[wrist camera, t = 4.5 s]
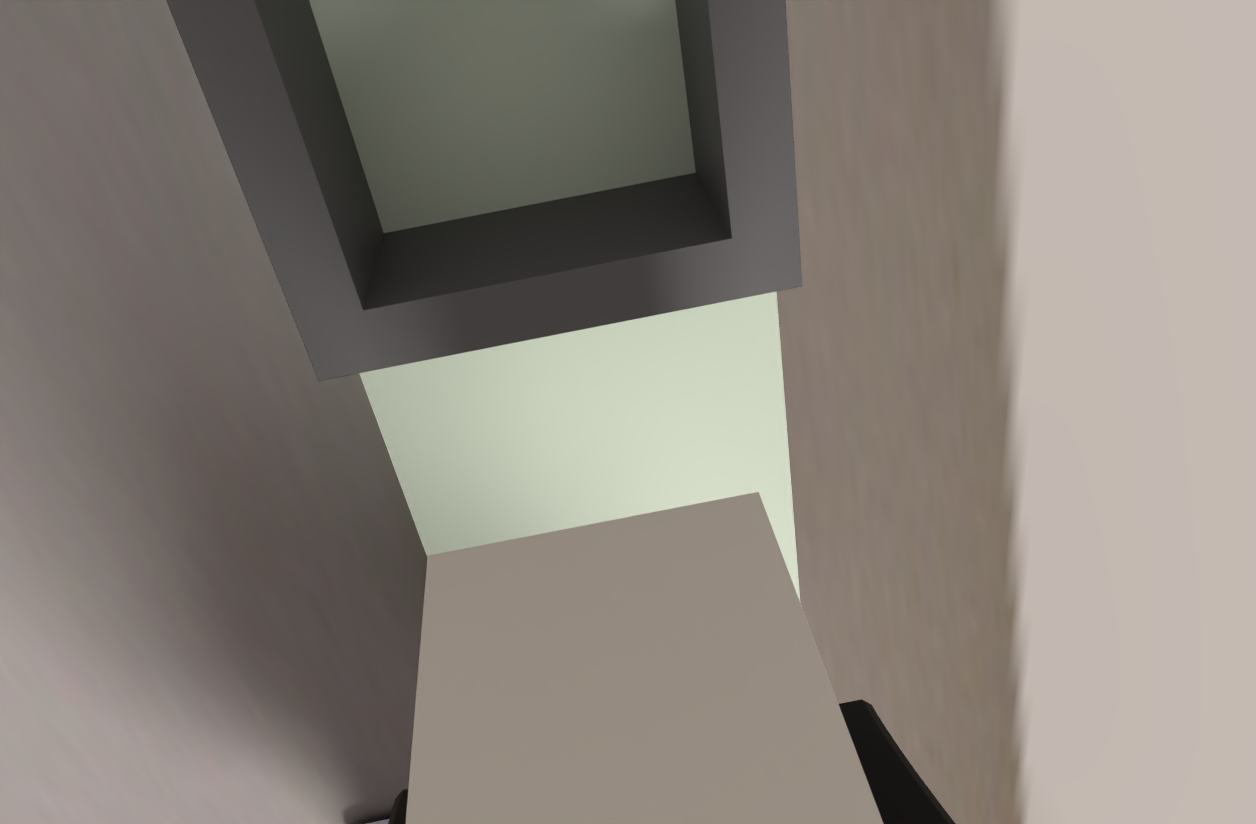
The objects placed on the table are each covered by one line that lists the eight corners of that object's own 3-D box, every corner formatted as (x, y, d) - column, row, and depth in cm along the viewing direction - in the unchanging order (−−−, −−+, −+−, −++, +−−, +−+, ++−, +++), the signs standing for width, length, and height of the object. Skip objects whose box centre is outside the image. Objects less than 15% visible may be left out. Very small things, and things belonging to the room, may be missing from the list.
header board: (786, 586, 24) (839, 730, 20) (478, 647, 24) (475, 804, 20) (696, -451, 13) (777, -557, 9) (127, -346, 13) (-25, -410, 9)
